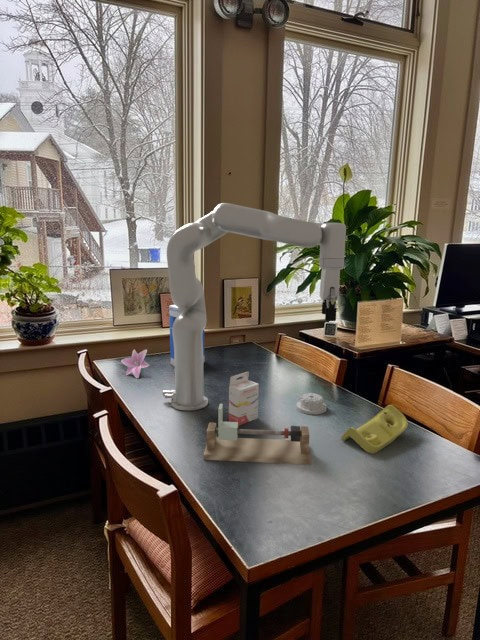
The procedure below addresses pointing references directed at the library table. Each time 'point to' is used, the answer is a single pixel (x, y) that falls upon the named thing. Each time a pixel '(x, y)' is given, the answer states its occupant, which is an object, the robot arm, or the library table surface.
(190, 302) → the robot arm
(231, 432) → the pale green slide carriage
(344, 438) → the plastic component
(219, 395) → the library table surface
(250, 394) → the ink cartridge box
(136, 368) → the lily
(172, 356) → the string lights box
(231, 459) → the lead screw slide
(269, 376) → the library table surface
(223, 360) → the library table surface
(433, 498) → the library table surface
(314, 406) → the mechanical component
